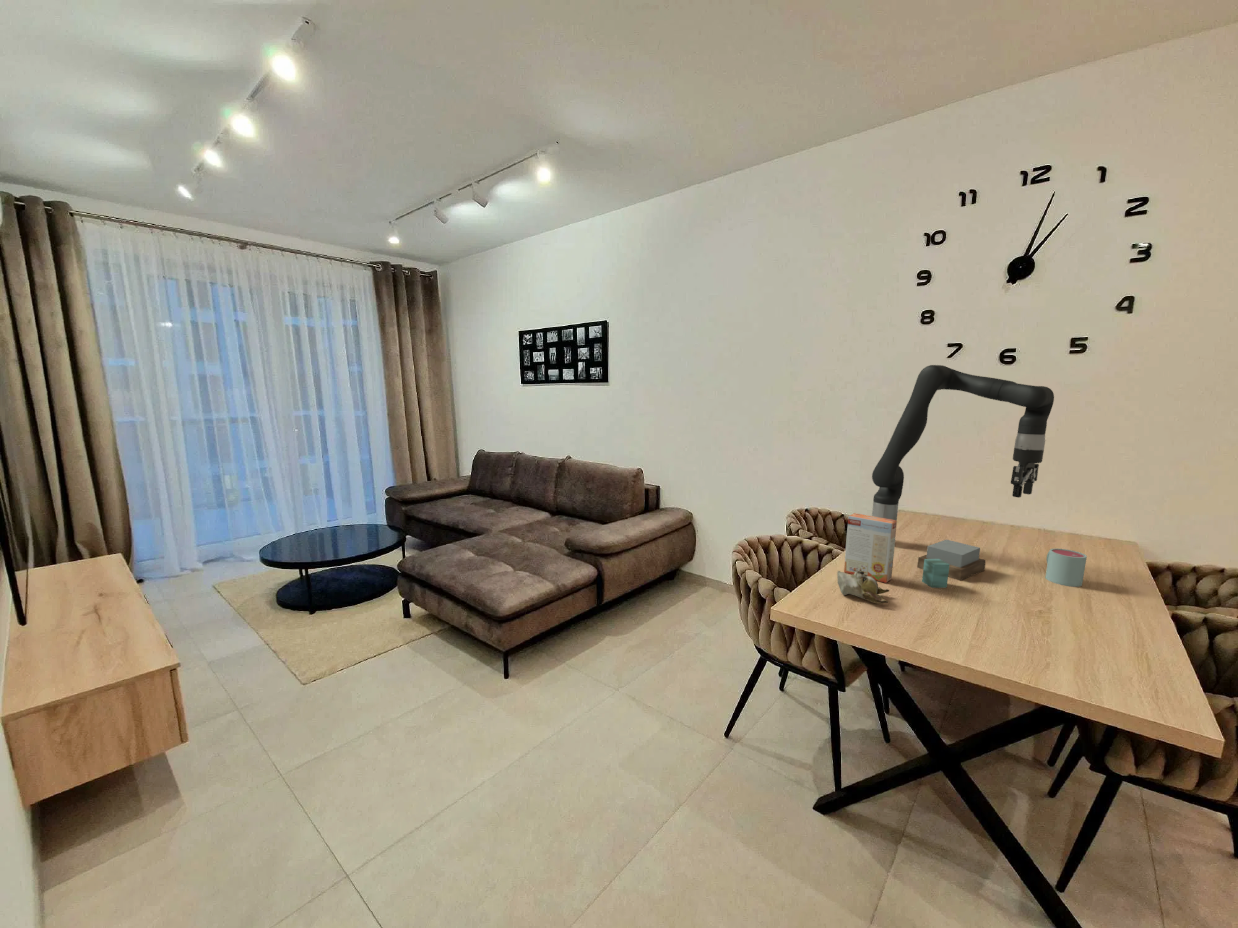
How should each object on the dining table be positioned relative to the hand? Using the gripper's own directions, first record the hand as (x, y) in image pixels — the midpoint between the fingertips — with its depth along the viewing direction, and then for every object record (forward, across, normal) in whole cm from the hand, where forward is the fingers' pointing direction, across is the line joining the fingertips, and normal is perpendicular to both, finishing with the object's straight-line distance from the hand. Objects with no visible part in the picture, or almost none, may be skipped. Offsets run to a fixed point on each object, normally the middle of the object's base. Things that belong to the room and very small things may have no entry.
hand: (1021, 495), depth 162 cm
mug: (+29, -14, +9) cm, 34 cm away
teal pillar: (+30, +28, -11) cm, 42 cm away
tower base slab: (+30, +8, -15) cm, 34 cm away
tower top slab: (+26, +8, -15) cm, 30 cm away
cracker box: (+30, +40, -27) cm, 56 cm away
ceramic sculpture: (+30, +58, -18) cm, 68 cm away
